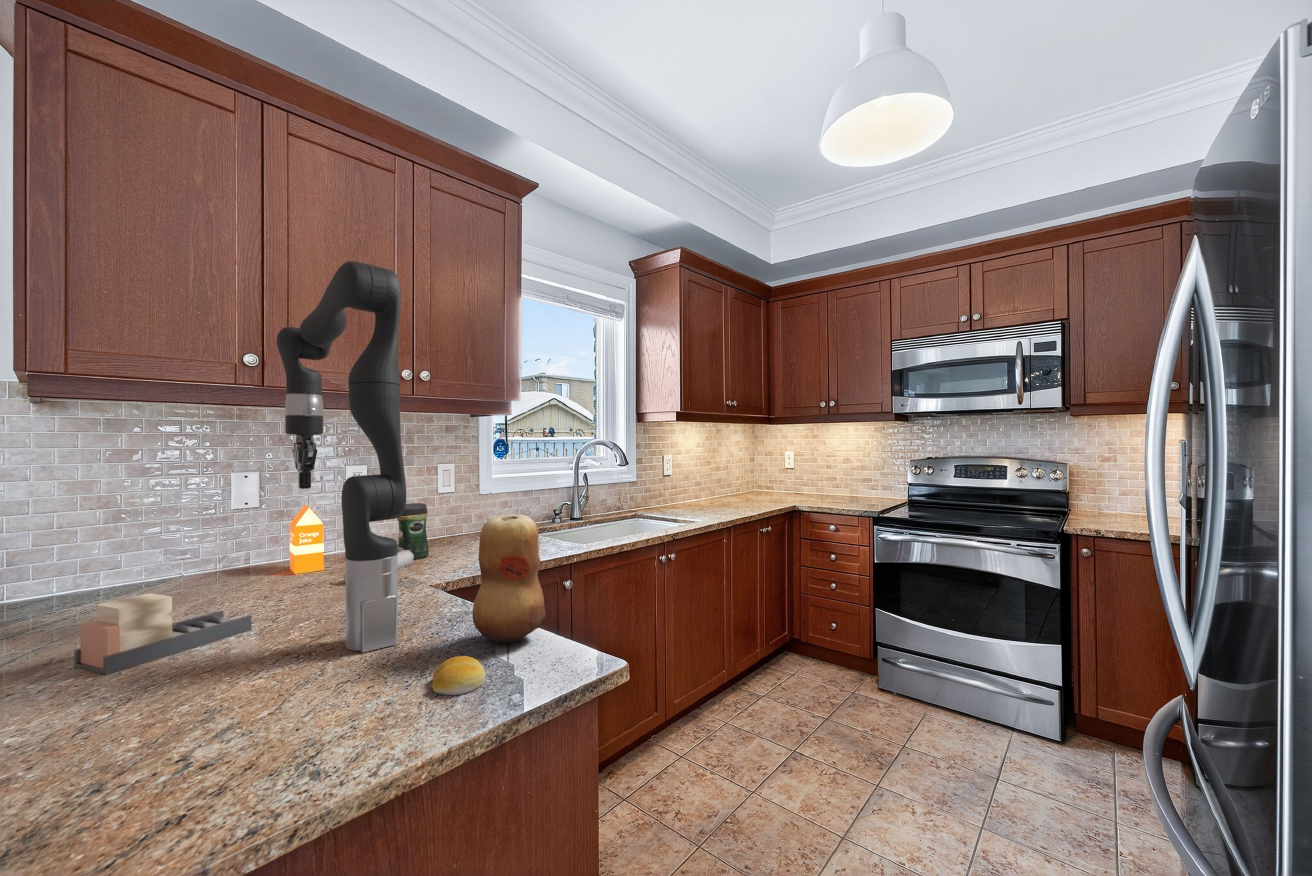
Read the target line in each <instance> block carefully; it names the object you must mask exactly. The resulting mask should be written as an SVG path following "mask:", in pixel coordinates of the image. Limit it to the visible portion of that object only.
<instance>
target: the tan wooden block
mask: <svg viewBox="0 0 1312 876" xmlns="http://www.w3.org/2000/svg"><path fill="white" fill-rule="evenodd" d="M96 621H97V622H102V623H107V624H111V625H116V626H120V652H122V651H126V650H129V649H133V648H136V647H140V646H143V645H147V644H150V643H154V642H157V641H161V640H164V639H168V638H171V637H172V624H173V596H169V595H163V594H157V593H145V594H144V593H143V594H140V595H136V596H132V597H126V598H122V599H117V600H113V601H109V602H104V603H99V604H98V603H97V604H96Z"/></svg>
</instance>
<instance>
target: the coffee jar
mask: <svg viewBox="0 0 1312 876" xmlns="http://www.w3.org/2000/svg"><path fill="white" fill-rule="evenodd" d="M428 515H429V513H428V508H427V504H426V503H422V502H412V503H406V507H405V510H404V512H403V514H402V515H401V516H400V517H399V518H396V519H397V522H398V538H397V539H398V540H397V544H398V552H401V551H402V550H409V551H410V552H411V553H412V554H413V559H414V560H419V559H420V560H421V559H424V558H427V557H428V556H429V555H430V554H429V553H430V552H429V543H428V536H427V535H428V534H427V519H428Z"/></svg>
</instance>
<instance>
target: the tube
mask: <svg viewBox="0 0 1312 876" xmlns="http://www.w3.org/2000/svg"><path fill="white" fill-rule="evenodd" d="M413 563H414V560H413V554H412V553H411V552H410V551H409V550H402V551H401V552H398V570H400V568H401V569H403V567H404V568H406V567H405V566H407V567H409V566H408V565H410V566H411V565H412V564H413ZM345 574H346V572H345V573H344V574H343V580H344V582H345V583H346V581H345Z"/></svg>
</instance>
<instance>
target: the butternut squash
mask: <svg viewBox="0 0 1312 876" xmlns="http://www.w3.org/2000/svg"><path fill="white" fill-rule="evenodd" d="M539 548H540V547H539V528H538V525H537V524H536V522H534V520H533V519H532V518H531V517H529V516H527V515H525V514H519V513H517V514H516V513H515V514H510V513H509V514H507V513H506V514H502V515H498V516H495V517H492V518H489V520H487V521H486V522H485V523H484V525H482V527H481V530H480V535H479V544H478V565H479V570H480V586H479V588H478V591H477V594H476V596H475V598H474V602H473V606H472V623H473V625H474V627H475V629H476V630H477V632H479V634H480V635H481V636H482V637H483V638H486V639H489V640H493V641H496V642H499V643H501V644H512V643H517V642H520V641H521V640H522V639H524V638H525V637H527V636H528V635H529V634H531V633H532V632H534V631H536V630H537V629H539V628H540V625H541V623H542V622H543V620H544V619H545V618H546V611H545V600H544V599H545V598H544V597H545V596H544V592H543V589H542V586H541V584H540V580H539V576H538V574H539V571H540V570H541V565H542V562H541V559H540V555H539V554H540V549H539Z"/></svg>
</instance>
